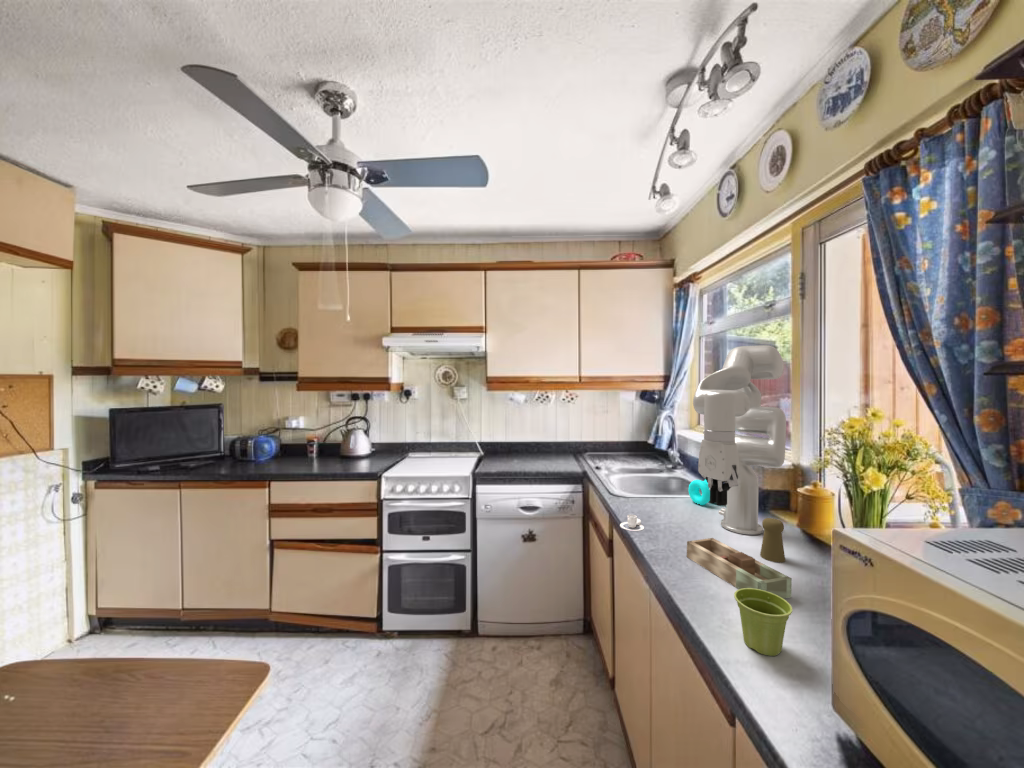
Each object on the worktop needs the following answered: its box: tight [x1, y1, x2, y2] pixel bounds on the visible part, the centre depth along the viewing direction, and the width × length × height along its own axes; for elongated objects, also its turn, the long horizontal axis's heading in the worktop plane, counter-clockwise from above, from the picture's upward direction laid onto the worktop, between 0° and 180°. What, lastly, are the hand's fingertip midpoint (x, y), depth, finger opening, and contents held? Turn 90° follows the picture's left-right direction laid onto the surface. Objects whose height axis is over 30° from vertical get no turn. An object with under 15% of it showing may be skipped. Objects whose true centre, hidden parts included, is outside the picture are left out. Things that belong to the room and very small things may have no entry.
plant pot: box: [733, 588, 793, 657], centre depth 75 cm, size 9×9×9 cm
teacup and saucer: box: [619, 514, 645, 532], centre depth 136 cm, size 9×8×4 cm
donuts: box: [687, 478, 710, 506], centre depth 161 cm, size 10×10×10 cm
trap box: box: [686, 537, 793, 600], centre depth 102 cm, size 24×9×4 cm, turn 16°
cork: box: [759, 517, 786, 563], centre depth 112 cm, size 6×6×11 cm
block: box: [729, 551, 756, 575], centre depth 100 cm, size 4×4×4 cm
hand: (718, 503), depth 107 cm, fingers closed
